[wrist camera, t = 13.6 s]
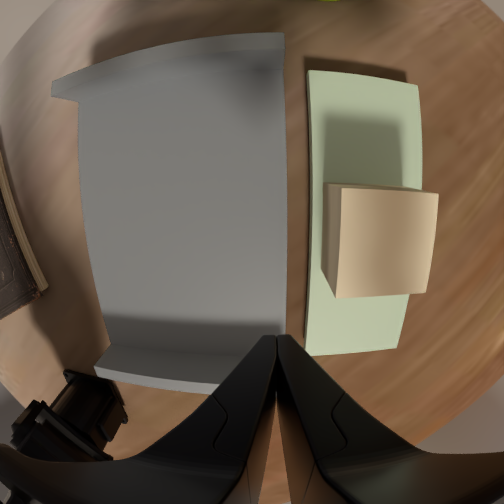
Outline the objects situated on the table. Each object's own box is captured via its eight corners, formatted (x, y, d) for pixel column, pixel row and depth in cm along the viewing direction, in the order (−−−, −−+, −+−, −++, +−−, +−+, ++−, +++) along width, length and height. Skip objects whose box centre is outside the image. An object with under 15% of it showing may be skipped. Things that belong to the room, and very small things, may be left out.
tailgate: (304, 356, 18) (396, 347, 18) (308, 70, 13) (417, 85, 13) (303, 347, 19) (391, 340, 19) (306, 75, 14) (410, 88, 14)
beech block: (320, 268, 16) (335, 298, 13) (322, 182, 15) (341, 188, 11) (395, 266, 16) (425, 292, 12) (402, 186, 15) (438, 193, 11)
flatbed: (122, 343, 21) (97, 376, 17) (91, 92, 15) (52, 81, 11) (283, 354, 20) (284, 396, 16) (281, 63, 14) (284, 32, 10)
